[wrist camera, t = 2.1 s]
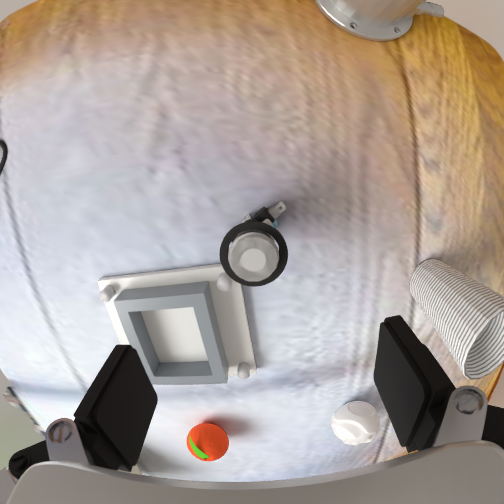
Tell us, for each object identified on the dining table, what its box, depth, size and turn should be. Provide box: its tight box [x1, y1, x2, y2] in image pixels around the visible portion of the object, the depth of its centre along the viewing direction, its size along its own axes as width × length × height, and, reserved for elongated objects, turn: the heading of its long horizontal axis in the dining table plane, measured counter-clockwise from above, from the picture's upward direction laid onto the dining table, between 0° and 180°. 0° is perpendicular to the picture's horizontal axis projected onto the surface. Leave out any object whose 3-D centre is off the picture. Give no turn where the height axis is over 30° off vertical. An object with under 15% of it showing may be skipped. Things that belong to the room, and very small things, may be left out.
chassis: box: [97, 263, 257, 385], centre depth 34 cm, size 18×16×4 cm
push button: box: [220, 201, 288, 286], centre depth 26 cm, size 7×5×10 cm
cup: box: [409, 259, 504, 380], centre depth 26 cm, size 8×8×16 cm
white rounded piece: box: [331, 401, 380, 445], centre depth 37 cm, size 8×8×8 cm
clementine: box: [187, 423, 229, 461], centre depth 39 cm, size 8×7×7 cm
